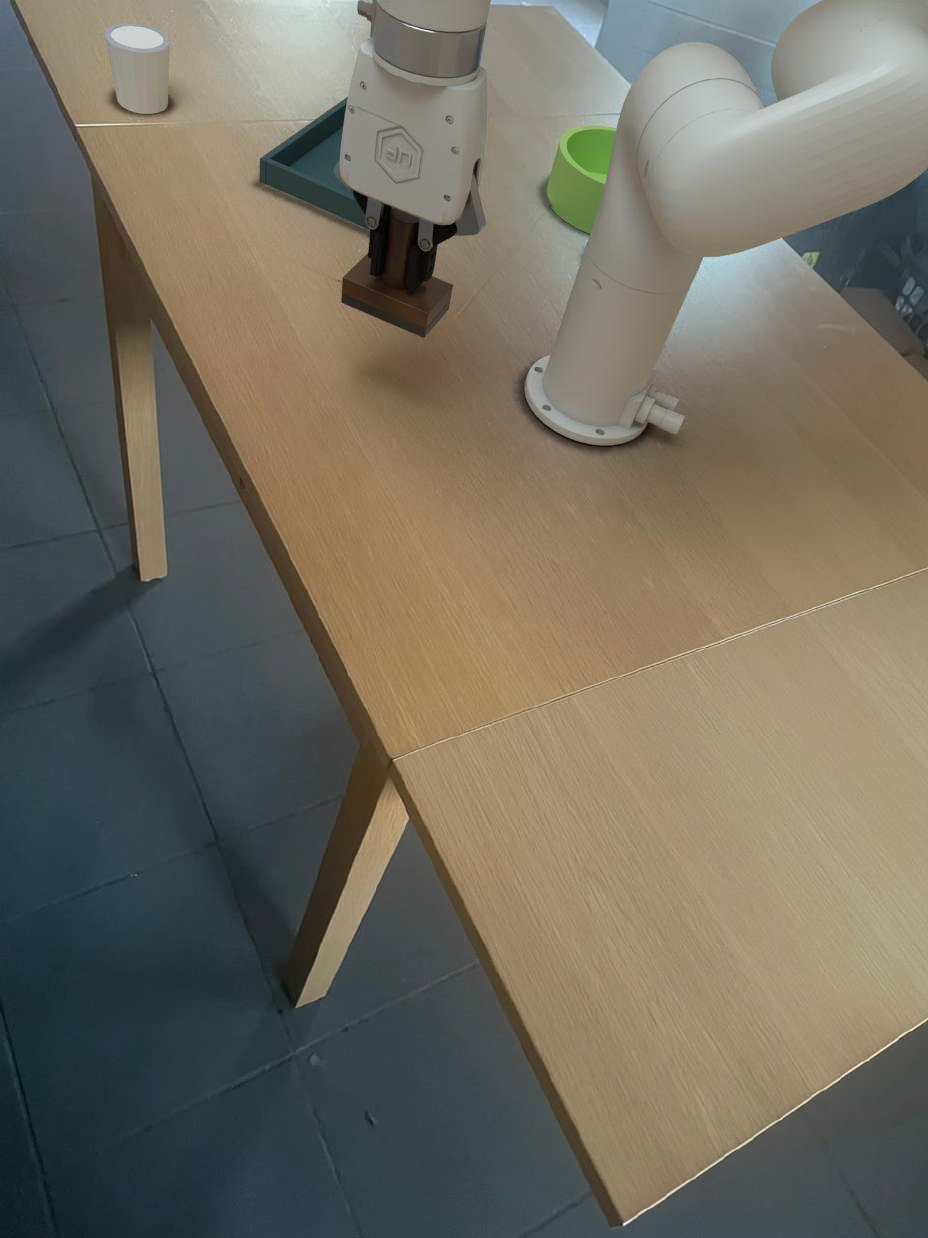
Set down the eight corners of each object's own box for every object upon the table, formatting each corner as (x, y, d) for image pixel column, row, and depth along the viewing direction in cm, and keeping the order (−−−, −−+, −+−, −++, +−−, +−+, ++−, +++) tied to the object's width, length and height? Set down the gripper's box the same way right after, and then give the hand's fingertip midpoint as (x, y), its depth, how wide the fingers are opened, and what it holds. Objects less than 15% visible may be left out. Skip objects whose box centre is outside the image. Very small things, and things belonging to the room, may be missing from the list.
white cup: (105, 86, 107) (97, 21, 102) (165, 86, 110) (161, 22, 105) (119, 117, 104) (112, 50, 99) (180, 115, 107) (177, 51, 101)
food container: (536, 167, 116) (564, 61, 106) (644, 181, 119) (680, 79, 109) (575, 287, 101) (611, 178, 92) (696, 299, 105) (743, 194, 95)
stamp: (449, 309, 80) (464, 219, 74) (424, 338, 77) (438, 247, 71) (368, 275, 81) (376, 182, 75) (340, 302, 78) (346, 209, 72)
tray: (471, 157, 114) (476, 133, 112) (384, 239, 100) (387, 214, 97) (360, 110, 116) (362, 85, 113) (259, 184, 101) (259, 157, 99)
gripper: (295, 13, 61) (291, 260, 76) (515, 98, 59) (467, 335, 74) (349, -18, 66) (336, 221, 80) (556, 60, 64) (503, 291, 78)
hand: (399, 274), depth 77 cm, fingers closed on stamp, 2 cm apart
